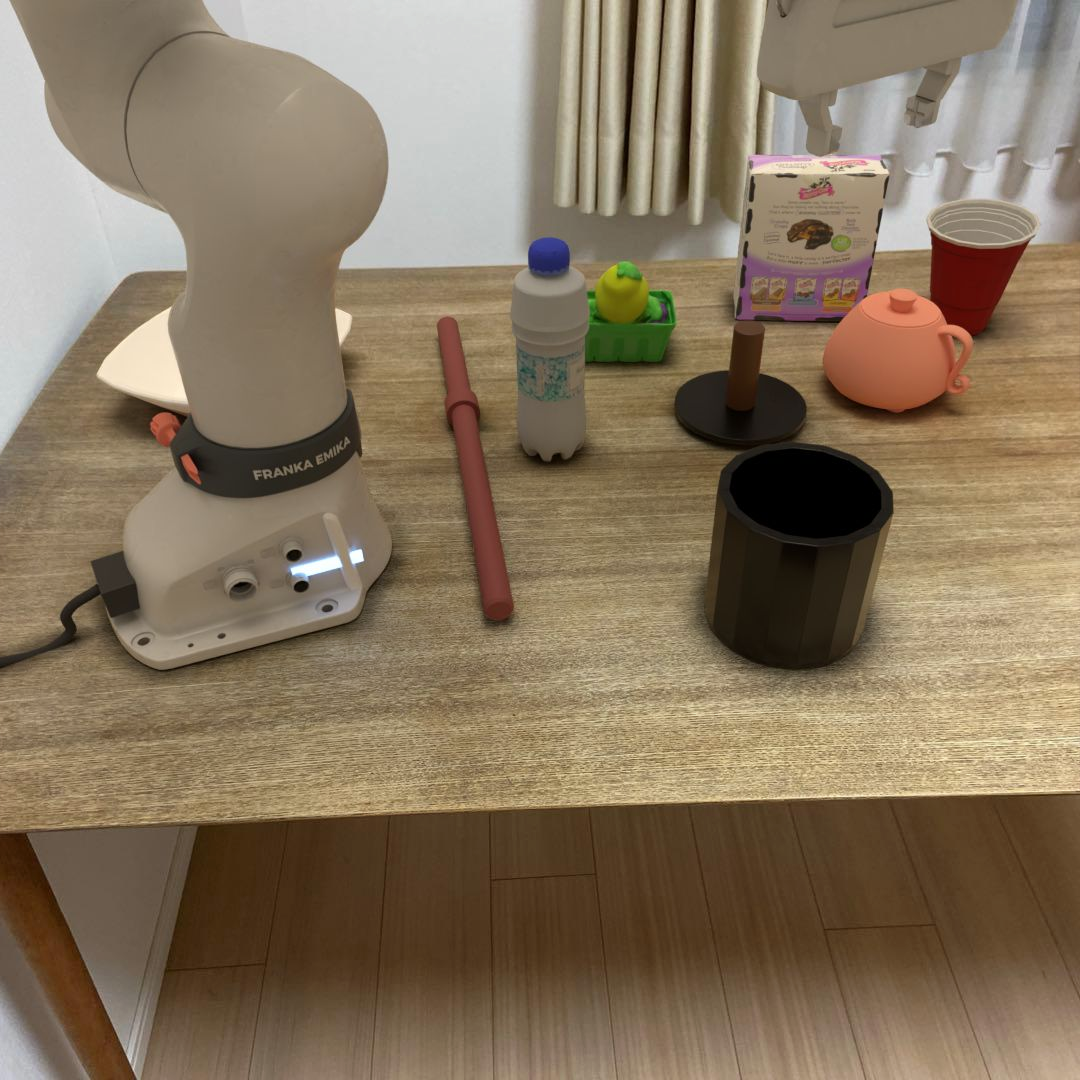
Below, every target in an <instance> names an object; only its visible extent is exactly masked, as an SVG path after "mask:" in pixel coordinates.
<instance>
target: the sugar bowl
mask: <svg viewBox="0 0 1080 1080" xmlns="http://www.w3.org/2000/svg"><path fill="white" fill-rule="evenodd" d="M953 337H954V338H955V339H957V340H959V341H960V342H961V344H962V351H961V354H960V355H959V358H958V360H956V359H957V357H956V349H955V342H954V339H953ZM973 349H974V340H973V338H972V335H971V336H970V334H969V333H968V332H967V331H966V330H964V329H963V328H961V327H959V326H956V325H947V323H946V320H945V318H944V316H943V314H942V312H941V311H940V309H939V308H938V307H937V306H936V305H935V304H934V303H933V302H931V301H930V299H928V298H926V297H923V296H920V295H918V294H917V293H916V292H915V291H913V290H911V289H907V288H895V289H892V290H890V291H881V292H875V293H873V294H869V295H867V297H866V298H864V299H863V300H862V301H861V302H859V303H858V304H857V305H856V306H855V307H854V308H853V309H852V310H851V311H850V312H849V313H848V314H847V315H846V316H845V317H844V318H843V319H842V321H839V323H838V324H837V325H836V327H835V328H834V329H833V332H832V333H831V335H830V336H829V339H828V341H827V343H826V345H825V348H824V351H823V356H822V362H821V363H822V366H823V368H822V369H823V371H824V373H825V375H826V377H827V378H828V380H829V381H830V383H831V384H832V385H833V386H834V387H835V389H836V390H837V391H838V392H839V394H841V395H842V396H844V397H846V398H848V399H849V400H851V401H853V402H856V403H857V404H860V405H864V406H867V407H871V408H875V409H883V410H886V411H888V412H891V413H903V412H904V411H905V410H909V409H915V408H918V407H921V406H923V405H926V404H927V403H929V402H932V401H933V400H935V399H936V398H938V397H939V396H941V395H943V394H944V393H945V392H947V393H949V394H950V395H954V396H958V395H963V394H964V393H966V392H967V391H968V390H969V387H970V385H971V384H970V383H971V382H970V379H969V377H968V376H967V375H965V374H963V373H961V371H962V370H963V369H964V367H965V366H966V364H967V363H968V361H969V358H970V357H971V355H972V354H973ZM956 381H959V382H960V384H961V385H959V384H956Z"/></svg>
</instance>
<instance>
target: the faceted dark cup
mask: <svg viewBox="0 0 1080 1080" xmlns="http://www.w3.org/2000/svg"><path fill="white" fill-rule="evenodd" d="M894 509H895V507H894V492H893V490H892V488H891V487H890V486H889V484H888V482H887V481H886V480H885V479H884V477H883V476H882V474H881V473H880V472H879V470H877V469H876V468H874V467H873V466H871V465H870V464H868V463H867V462H865V461H864V460H862V459H861V458H859V457H858V456H856V455H854V454H851V453H848V452H846V451H842V450H840V449H837V448H833V447H830V446H828V445H823V444H817V443H815V444H814V443H808V442H807V443H806V442H799V441H796V442H795V441H786V442H777V443H776V442H775V443H768V444H761V445H757V446H756V447H753V448H751V449H748V450H746V451H743V452H740V453H738V454H736V455H734V457H733V458H732V459H731V460H730V461H728V463H727V464H726V465H725V466H724V467H723V468H722V469H721V470H720V473H719V479H718V484H717V490H716V497H715V506H714V517H713V523H712V524H713V525H712V532H711V533H712V535H711V543H710V550H709V551H710V552H709V560H708V570H707V577H706V579H707V580H706V585H705V595H704V603H703V607H704V614H705V617H706V620H707V624H708V625H709V627H710V629H711V631H712V632H713V633H714V635H715V636H716V637H717V638H718V639H719V641H720V642H722V644H724V645H725V646H726V647H727V648H728V649H730V650H731V651H733V652H734V653H736V654H737V655H739V656H741V657H743V658H744V659H747V660H749V661H752V662H754V663H756V664H760V665H764V666H766V667H772V668H776V669H784V670H809V669H810V670H811V669H814V668H821V667H824V666H827V665H830V664H832V663H834V662H837V661H839V660H840V659H842V658H843V657H846V655H847V654H849V653H850V652H851V651H852V650H853V649H854V647H855V646H856V645H857V644H858V641H859V640H860V638H861V635H862V633H863V632H864V629H865V627H866V623H867V619H868V614H869V610H870V606H871V602H872V598H873V595H874V590H875V586H876V583H877V579H878V575H879V571H880V568H881V563H882V559H883V557H884V551H885V547H886V544H887V541H888V536H889V533H890V529H891V525H892V520H893V516H894V512H895V510H894Z"/></svg>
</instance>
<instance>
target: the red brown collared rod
mask: <svg viewBox="0 0 1080 1080" xmlns="http://www.w3.org/2000/svg"><path fill="white" fill-rule="evenodd" d="M436 329H437V336H438V343H439V348H440V349H439V350H440V355H441V360H442V367H443V374H444V379H445V384H446V391H447V395H446V396H445V399H444V407H445V414H446V418H447V421H448V423H449V425H451V426H452V427H453V433H454V439H455V445H456V451H457V458H458V463H459V469H460V470H459V471H460V475H461V482H462V488H463V493H464V494H463V495H464V499H465V505H466V506H465V507H466V512H467V519H468V524H469V530H470V537H471V543H472V546H473V554H474V560H475V565H476V566H475V567H476V570H477V572H476V573H477V578H478V584H479V589H480V590H479V591H480V596H481V602H482V609H483V613H484V615H485V616H486V617H487V618H489V619H490V620H492V621H493V620H494V621H501V620H504V619H507V618H508V617H510V616H511V615H512V614H513V612H514V610H515V604H514V600H513V595H512V590H511V585H510V584H511V583H510V579H509V575H508V570H507V565H506V558H505V555H504V550H503V545H502V540H501V534H500V529H499V525H498V519H497V515H496V510H495V505H494V500H493V494H492V491H491V490H492V489H491V485H490V480H489V475H488V474H489V473H488V470H487V465H486V459H485V455H484V449H483V443H482V439H481V434H480V430H479V424H478V423H479V420H480V418H481V410H480V405H479V400H478V397H477V396H478V395H476V393H475V392H474V391H473V390H472V389H471V385H470V380H469V374H468V370H467V369H468V368H467V364H466V359H465V354H464V349H463V344H462V338H461V334H460V329H459V323H458V321H457V320H456V318H454V317H452V316H442V317H440V319H438V321H437V323H436Z"/></svg>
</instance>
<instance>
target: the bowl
mask: <svg viewBox="0 0 1080 1080" xmlns="http://www.w3.org/2000/svg"><path fill="white" fill-rule="evenodd" d="M171 308H172V305H171V306H170V307H168V308H166V309H165V310H163V311H162V312H160V313H158V314H156V315H154V316H153V317H152V318H150V319H148V320H147V321H146V322H144V323H143V324H141V325H140V326H137V328H135V329H134V330H133V331H132V332H130V334H129V335H127V336H126V337H125V338H124V339H123V340H122V341H120V342H119V344H117V346H115V347H114V348H113V350H112V351H111V352H110V353H108V355H107V356H105V358H104V359H103V361H102V362H101V365H100V367H99V369H98V370H97V372H96V378H97V379H98V380H99V381H100V382H102V383H104V384H105V385H107V386H109V387H110V388H112V389H114V390H116V391H119V392H121V393H124V394H126V395H128V396H131V397H134V398H137V399H138V400H142V401H144V402H147V403H149V404H153V405H155V406H158V407H160V408H163V409H165V410H167V411H169V412H170V411H171V412H173V413H175V414H178V415H181V416H184V417H188V416H189V413H190V408H189V404H188V401H187V397H186V393H185V390H184V386H183V383H182V379H181V376H180V372H179V369H178V365H177V362H176V358H175V355H174V351H173V348H172V344H171V341H170V337H169V333H168V317H169V313H170V310H171ZM335 311H336V323H337V330H338V337H339V344H340V349H342V348H341V347H342V346H343V345H344V343H345V341H346V340H347V338H348V337H349V336H350V333H351V331H352V324H353V316H352V315H351V314H350V313H348V312H346V311H344V310H341V309H339V308H337V307H335Z"/></svg>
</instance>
